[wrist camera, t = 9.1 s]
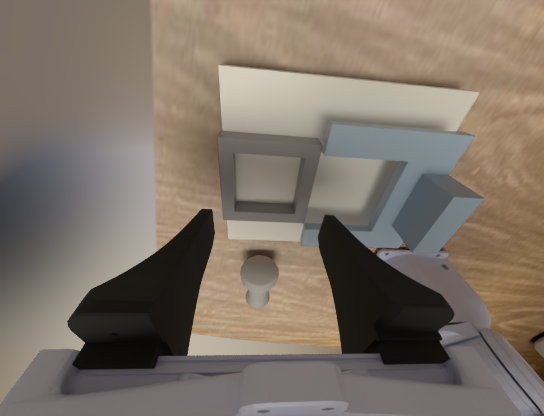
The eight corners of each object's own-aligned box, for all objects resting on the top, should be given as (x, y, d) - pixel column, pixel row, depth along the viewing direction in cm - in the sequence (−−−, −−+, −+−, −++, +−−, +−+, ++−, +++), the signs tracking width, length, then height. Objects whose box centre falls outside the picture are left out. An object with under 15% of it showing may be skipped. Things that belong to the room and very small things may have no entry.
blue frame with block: (465, 132, 14) (522, 154, 11) (394, 242, 20) (417, 275, 17) (328, 120, 13) (349, 141, 10) (300, 238, 19) (307, 273, 16)
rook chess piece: (287, 274, 23) (279, 304, 29) (265, 247, 26) (262, 279, 31) (253, 295, 21) (252, 323, 26) (233, 263, 24) (235, 295, 29)
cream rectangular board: (462, 89, 15) (500, 96, 13) (380, 234, 24) (393, 254, 22) (220, 64, 14) (211, 66, 11) (229, 229, 23) (225, 249, 20)
